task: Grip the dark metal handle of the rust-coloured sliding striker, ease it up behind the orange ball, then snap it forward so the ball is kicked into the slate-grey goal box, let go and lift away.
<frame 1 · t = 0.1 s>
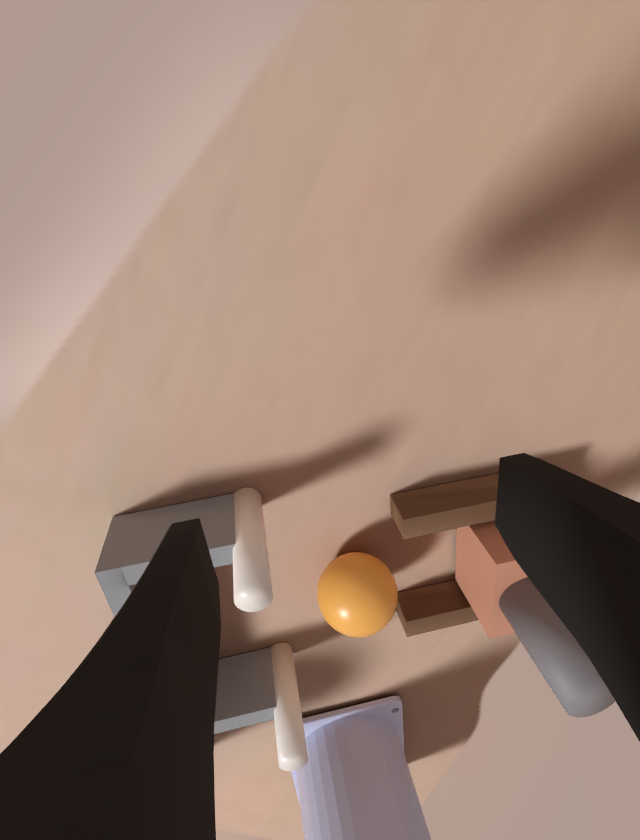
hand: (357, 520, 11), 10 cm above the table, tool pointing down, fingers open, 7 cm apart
rail frame: (462, 540, 26), on the table
ball: (357, 593, 24), point 2 cm above the table
goal: (207, 595, 25), on the table
striker: (528, 605, 22), point 5 cm above the table, slide at 0.0 cm
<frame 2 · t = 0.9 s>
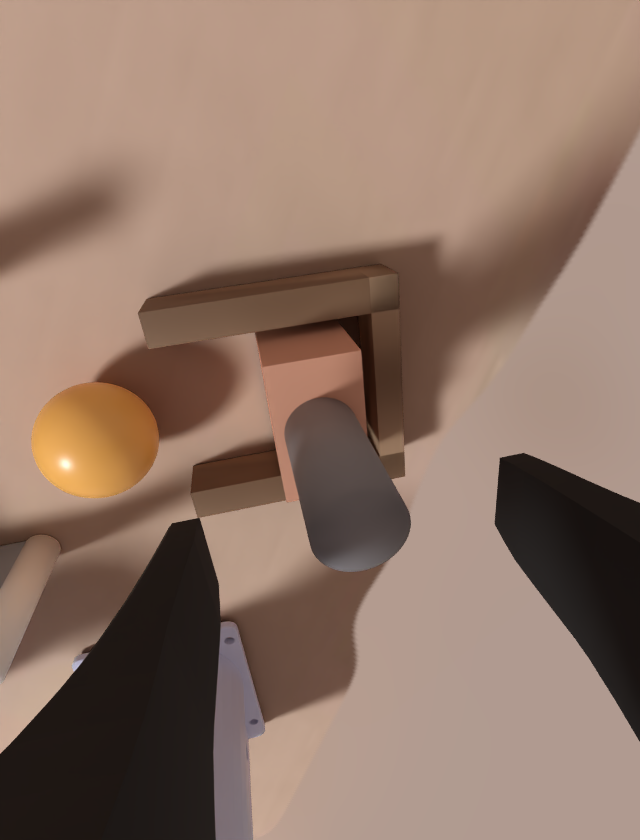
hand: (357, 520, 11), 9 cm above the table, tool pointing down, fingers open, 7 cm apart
rail frame: (277, 386, 19), on the table
ball: (98, 439, 17), point 2 cm above the table
striker: (324, 438, 15), point 5 cm above the table, slide at 0.0 cm
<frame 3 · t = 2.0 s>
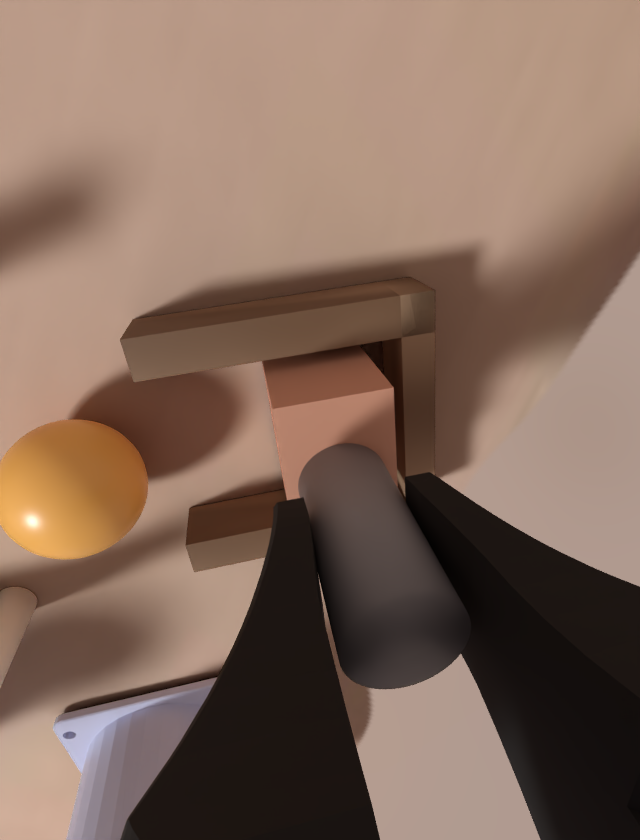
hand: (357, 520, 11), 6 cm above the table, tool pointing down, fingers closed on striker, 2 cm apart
rail frame: (286, 417, 16), on the table
ball: (75, 487, 14), point 2 cm above the table
striker: (347, 493, 12), point 5 cm above the table, slide at 0.0 cm, touching gripper
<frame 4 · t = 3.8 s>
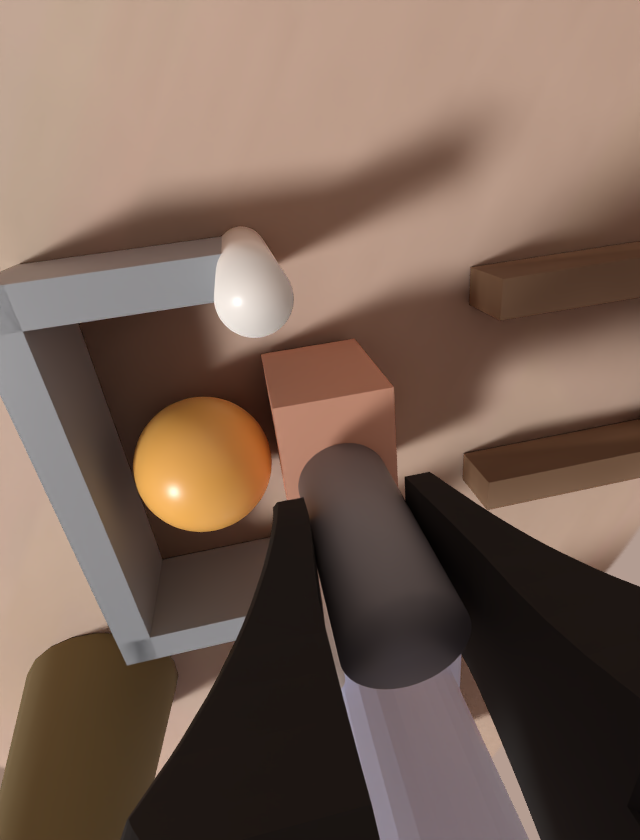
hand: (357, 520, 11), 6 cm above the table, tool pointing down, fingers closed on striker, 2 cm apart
rail frame: (569, 366, 17), on the table
ball: (204, 463, 14), point 2 cm above the table, tilted 171°
olive green tapered cylinder: (105, 678, 21), on the table
goal: (183, 436, 16), on the table
striker: (347, 493, 12), point 5 cm above the table, slide at 10.5 cm, touching gripper
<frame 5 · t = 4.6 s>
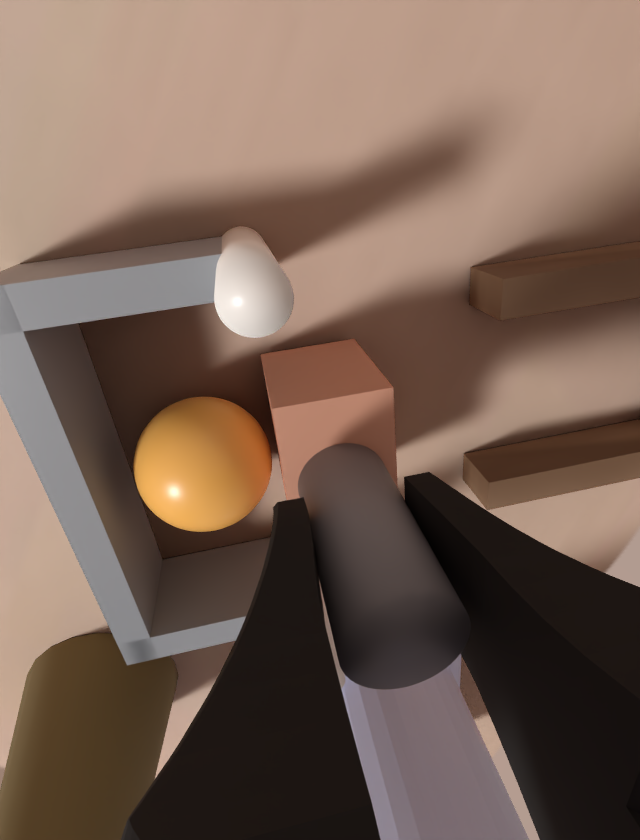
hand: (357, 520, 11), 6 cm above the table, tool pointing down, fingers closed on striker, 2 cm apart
rail frame: (569, 366, 17), on the table
ball: (204, 463, 14), point 2 cm above the table, tilted 171°
olive green tapered cylinder: (105, 678, 21), on the table
goal: (183, 436, 16), on the table
striker: (346, 493, 12), point 5 cm above the table, slide at 10.5 cm, touching gripper
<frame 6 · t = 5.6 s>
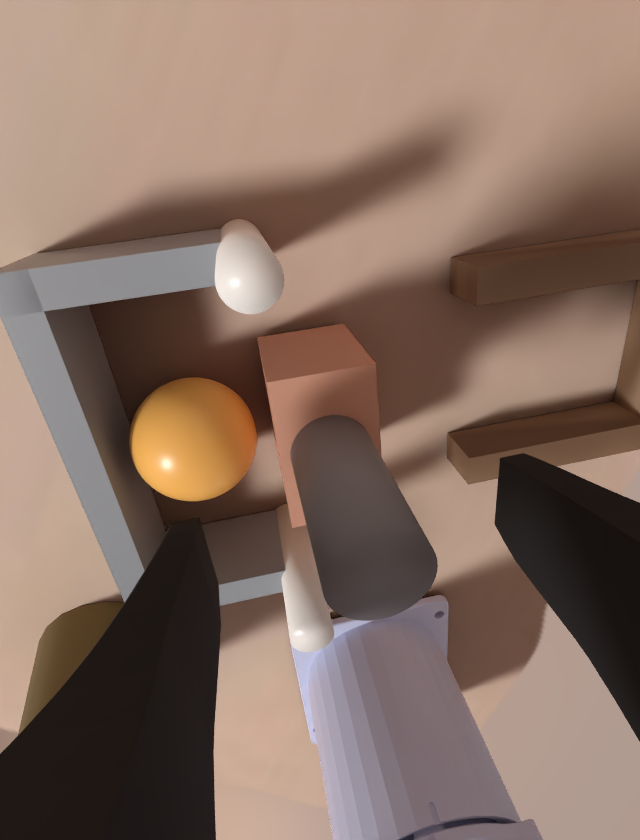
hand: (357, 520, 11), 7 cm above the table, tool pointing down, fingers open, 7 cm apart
rail frame: (545, 351, 19), on the table
ball: (195, 439, 16), point 2 cm above the table, tilted 161°
olive green tapered cylinder: (112, 645, 22), on the table
goal: (186, 414, 17), on the table
striker: (334, 460, 14), point 5 cm above the table, slide at 10.5 cm
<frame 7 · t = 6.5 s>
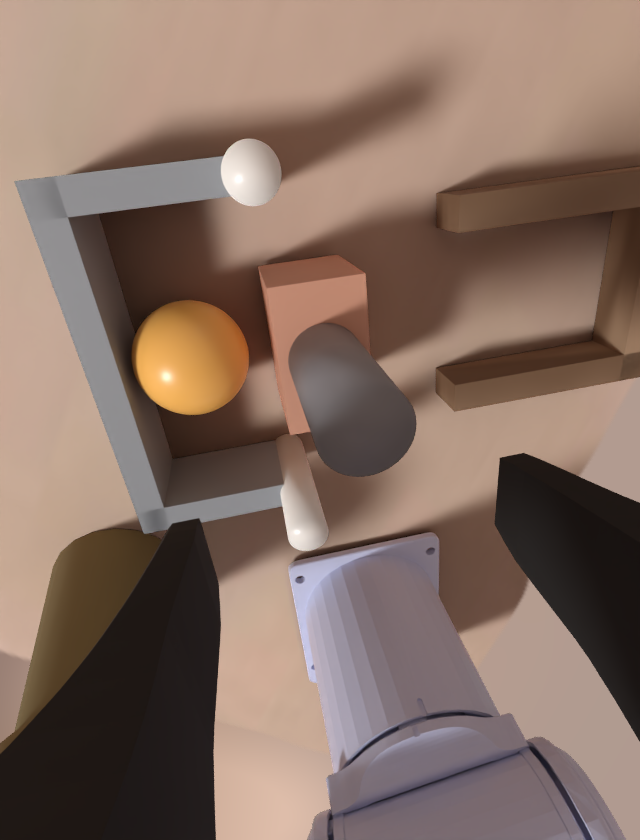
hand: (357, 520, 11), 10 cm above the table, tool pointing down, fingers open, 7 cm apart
rail frame: (526, 288, 20), on the table
ball: (191, 358, 17), point 2 cm above the table, tilted 152°
olive green tapered cylinder: (121, 575, 23), on the table
goal: (192, 341, 19), on the table
striker: (328, 364, 15), point 5 cm above the table, slide at 10.5 cm
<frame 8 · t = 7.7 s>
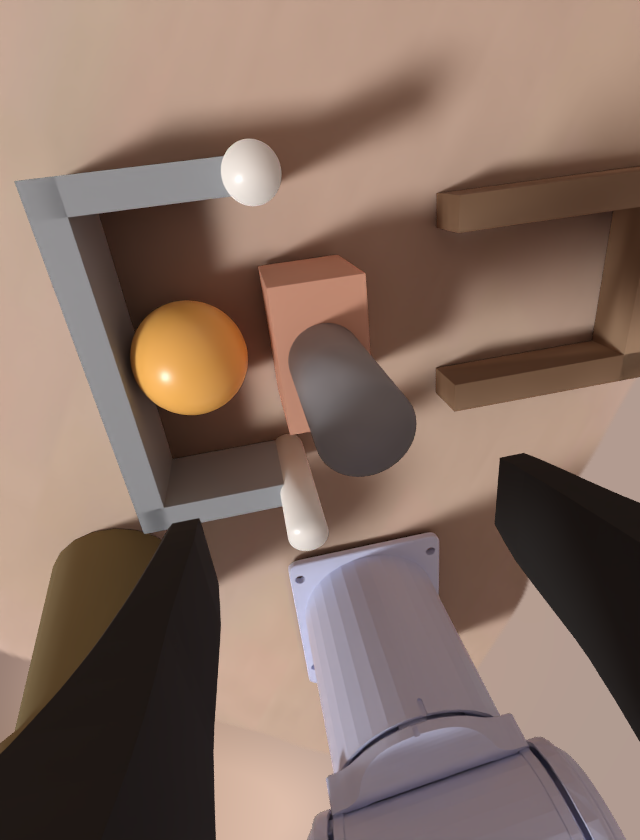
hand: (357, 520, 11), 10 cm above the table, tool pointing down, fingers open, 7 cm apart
rail frame: (526, 288, 20), on the table
ball: (190, 358, 17), point 2 cm above the table, tilted 151°
olive green tapered cylinder: (121, 575, 23), on the table
goal: (192, 341, 19), on the table
striker: (328, 364, 15), point 5 cm above the table, slide at 10.5 cm
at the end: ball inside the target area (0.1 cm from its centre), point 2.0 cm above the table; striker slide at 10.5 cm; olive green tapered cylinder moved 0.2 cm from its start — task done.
